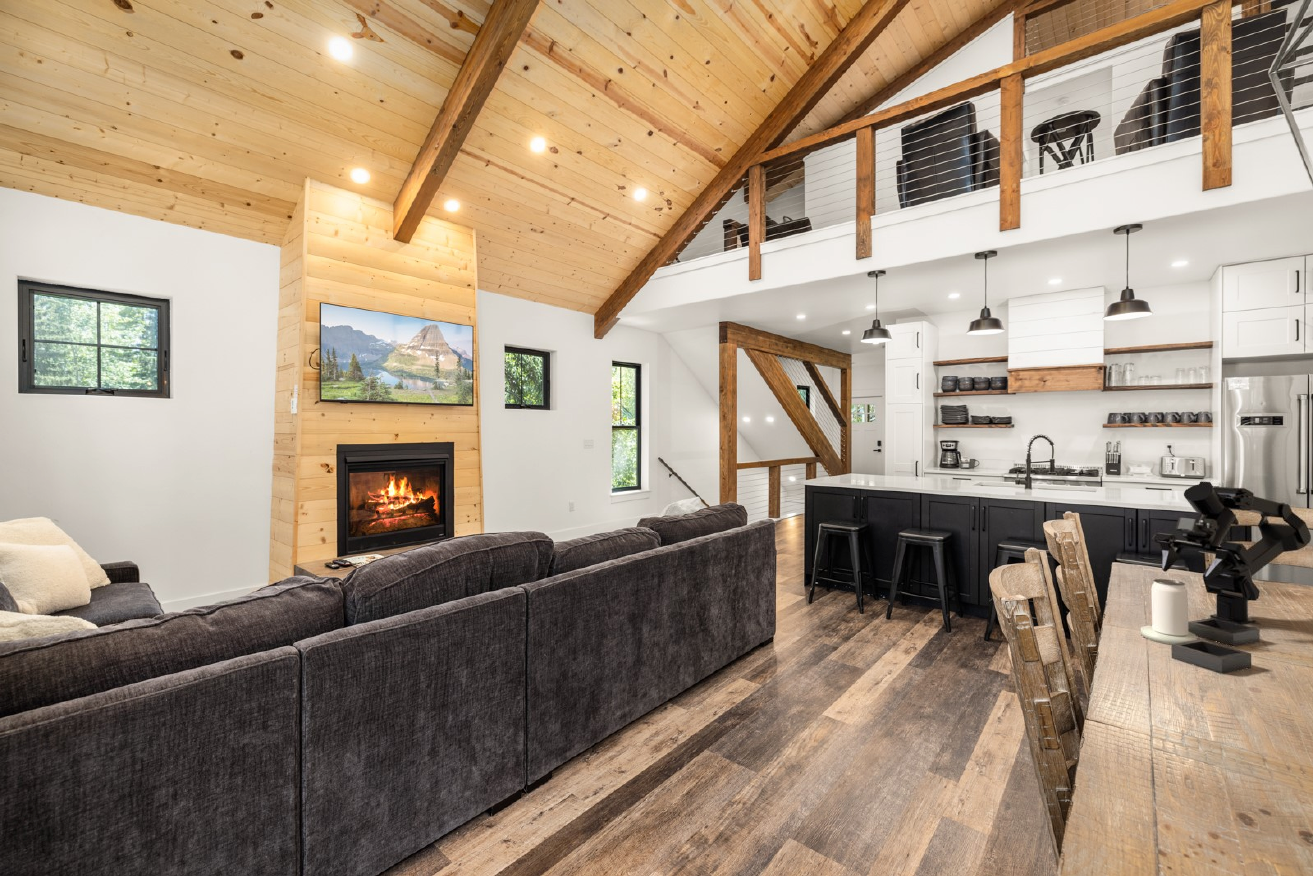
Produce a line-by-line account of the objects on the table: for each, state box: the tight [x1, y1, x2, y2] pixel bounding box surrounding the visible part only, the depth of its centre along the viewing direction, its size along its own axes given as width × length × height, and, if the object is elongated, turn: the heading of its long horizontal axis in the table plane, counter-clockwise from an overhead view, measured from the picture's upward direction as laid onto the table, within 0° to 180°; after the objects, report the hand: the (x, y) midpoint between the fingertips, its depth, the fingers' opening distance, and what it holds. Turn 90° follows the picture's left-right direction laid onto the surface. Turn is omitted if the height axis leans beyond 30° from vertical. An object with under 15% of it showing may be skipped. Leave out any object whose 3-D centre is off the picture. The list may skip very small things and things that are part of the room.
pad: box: [1140, 624, 1198, 646], centre depth 138 cm, size 10×10×2 cm
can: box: [1151, 578, 1189, 637], centre depth 138 cm, size 6×6×12 cm
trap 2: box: [1188, 617, 1261, 647], centre depth 138 cm, size 9×9×3 cm
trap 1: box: [1170, 638, 1252, 674], centre depth 124 cm, size 9×9×3 cm
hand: (1184, 574), depth 145 cm, fingers open, 9 cm apart
